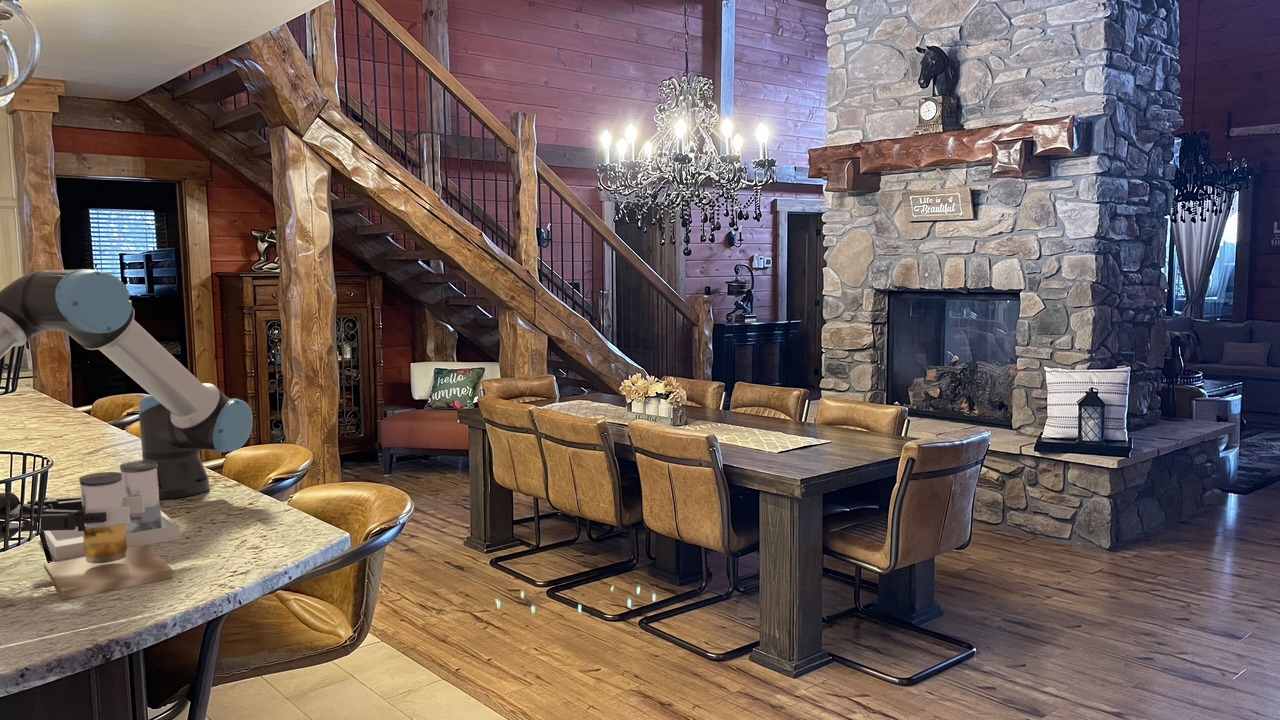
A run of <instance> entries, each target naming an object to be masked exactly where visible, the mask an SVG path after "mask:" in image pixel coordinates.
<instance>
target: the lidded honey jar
mask: <svg viewBox="0 0 1280 720" xmlns="http://www.w3.org/2000/svg"><path fill="white" fill-rule="evenodd" d="M78 480H79V481H78V482H79V484H80V496H81V499H82V510H83V511H84V513H85V509H87V508H104V507H123V495H122V474H121V472H116V471H108V472H107V471H106V472H104V471H103V472H95V473H89V474H86V475H83V476H79V479H78ZM83 541H84V555H85V556H86V562H88V563H108V562H113V561H117V560H120V559H123V558H125V557H126V556H127V554H126V551H127V539H126V524H109V525H88V526H86V523H85V530H84V531H83Z"/></svg>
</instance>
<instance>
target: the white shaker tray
mask: <svg viewBox="0 0 1280 720" xmlns="http://www.w3.org/2000/svg"><path fill="white" fill-rule="evenodd" d="M161 523H162V528H158V529H152V530H146V531H140V532H134V533H128V534H126V539H127V548H130V547H136V546H141V545H148V546H150V545H151V546H152V545H156V544H162V543H167V542H172V541H178V540H181V527H180V525H179V524H178V523H177V522H176V521H174V520H173V519H172V518H170V516H168V515H167V514H166V513H164V511H162V510H161ZM44 532H45V537H46V540H47V543H48V547H49V549H50V551H49V552H50V554H51V555H52V556H53V559H54V561H57V560H63V559H68V558H74V557H79V556H85V555H84V541H83V531H78V527H76V529H74V530H55V531H44ZM49 549H48V550H49Z"/></svg>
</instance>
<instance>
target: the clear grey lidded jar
mask: <svg viewBox="0 0 1280 720" xmlns="http://www.w3.org/2000/svg"><path fill="white" fill-rule="evenodd" d="M157 467H158V464H157V461H154V460H143V459H142V460H141V459H139V460H133V461H127V462H123V463H121V464H119V470H120V473H121V474H122V495H123V497H138V496H144V508H145V512H144V513H130V523H129V524H126V534H128V533H134V532H140V531H146V530H152V529H158V528H162V523H161V511H162V509H161V507H162V506H161V502H160V499H159V490H158V474H157Z"/></svg>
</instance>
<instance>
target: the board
mask: <svg viewBox="0 0 1280 720" xmlns="http://www.w3.org/2000/svg"><path fill="white" fill-rule="evenodd" d="M126 554H127V556H126V557H125V558H123V559H120V560H117V561H113V562H108V563H88V562H86V556H79V557H74V558H68V559H63V560H57V561H56V560H52V562H51V561H48V562H50V563H48V562H44V563H43V566H44V568H45V569H46V571H47V572H48V574H49V576H50V577H51V579H52V580H53V582H54V584H55V585H53V587H54V588H55V590H56V592H57V594H58V595H59V597H60V598H61V600H62V601H64V600H70V599H74V598H79V597H85V596H90V595H94V594H95V595H96V594H98V593H99V594H100V593H105V592H109V591H115V590H119V589H124V588H129V587H134V586H139V585H145V584H149V583H154V582H155V583H156V582H159V581H163V580H164V581H166V580H168V579H169V580H170V579H173V578H174V575H173V574H174V573H173V568H172V567H171V566H170V565H169V564H167V563H166V561H165V560H164V559H163V558H162V557H160V556H159V554H158V553H156V552H155V550H153V548H151V547H150V545H141V546H136V547H130V548H127V551H126Z"/></svg>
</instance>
